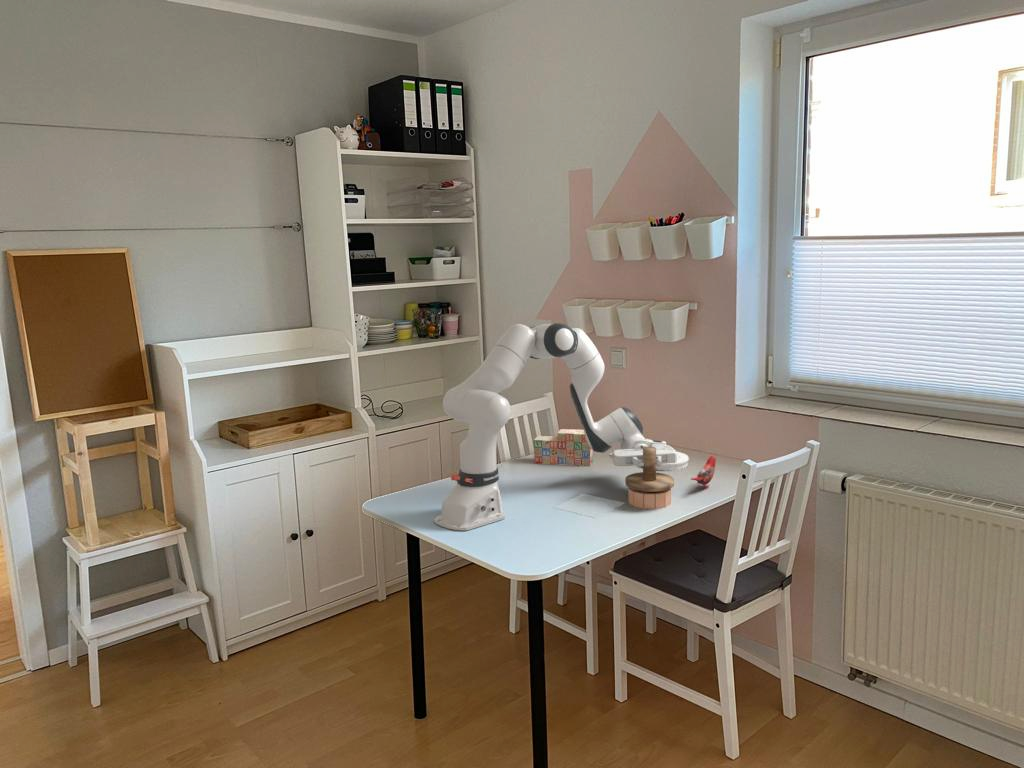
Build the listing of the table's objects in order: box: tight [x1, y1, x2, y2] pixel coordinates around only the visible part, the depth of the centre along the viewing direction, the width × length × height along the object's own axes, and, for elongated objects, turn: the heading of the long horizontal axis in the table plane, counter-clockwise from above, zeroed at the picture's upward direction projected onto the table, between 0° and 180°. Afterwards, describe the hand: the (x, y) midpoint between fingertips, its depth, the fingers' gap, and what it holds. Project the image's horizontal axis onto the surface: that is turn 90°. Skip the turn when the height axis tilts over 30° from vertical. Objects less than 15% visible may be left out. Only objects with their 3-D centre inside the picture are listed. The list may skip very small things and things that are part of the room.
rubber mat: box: [553, 493, 626, 519], centre depth 242 cm, size 16×16×1 cm
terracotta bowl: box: [627, 487, 672, 510], centre depth 243 cm, size 13×13×5 cm
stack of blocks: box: [533, 428, 594, 467], centre depth 288 cm, size 21×6×12 cm, turn 74°
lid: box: [656, 451, 690, 471], centre depth 284 cm, size 17×20×3 cm
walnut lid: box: [624, 447, 675, 492], centre depth 241 cm, size 15×15×12 cm
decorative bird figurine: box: [690, 455, 717, 490], centre depth 252 cm, size 3×18×10 cm, turn 141°
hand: (650, 463), depth 240 cm, fingers closed on walnut lid, 4 cm apart
